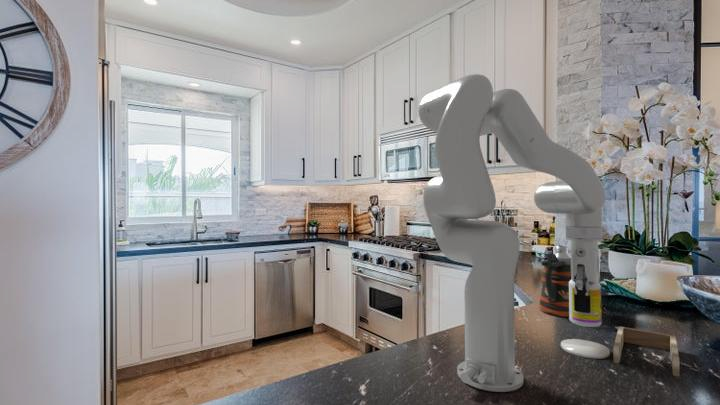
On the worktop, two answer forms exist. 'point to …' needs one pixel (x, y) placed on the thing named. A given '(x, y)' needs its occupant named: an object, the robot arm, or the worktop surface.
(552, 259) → the beer stein
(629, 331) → the frame
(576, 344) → the disc
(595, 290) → the supplement bottle
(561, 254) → the plastic bottle
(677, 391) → the worktop surface
